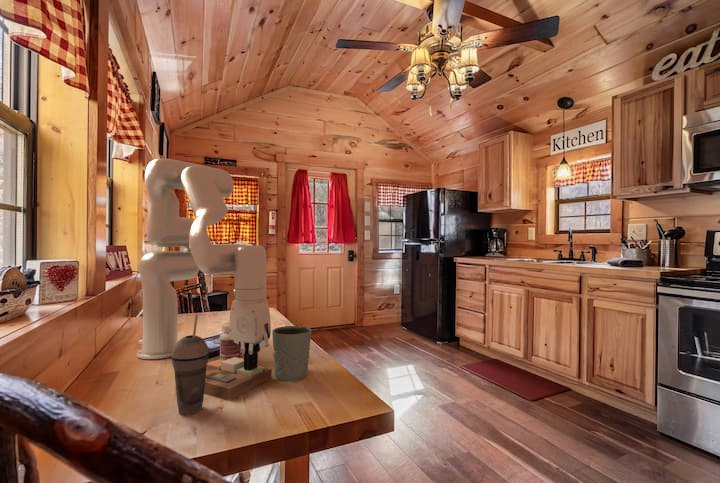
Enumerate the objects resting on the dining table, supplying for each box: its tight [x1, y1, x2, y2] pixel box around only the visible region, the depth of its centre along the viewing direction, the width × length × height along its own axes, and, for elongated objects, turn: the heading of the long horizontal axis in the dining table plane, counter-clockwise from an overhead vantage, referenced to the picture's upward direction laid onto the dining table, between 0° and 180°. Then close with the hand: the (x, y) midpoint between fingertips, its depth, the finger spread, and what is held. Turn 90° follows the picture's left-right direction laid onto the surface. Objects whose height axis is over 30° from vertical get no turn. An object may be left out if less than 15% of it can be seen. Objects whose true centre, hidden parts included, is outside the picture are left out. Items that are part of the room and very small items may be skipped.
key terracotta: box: [206, 358, 225, 370], centre depth 98 cm, size 4×4×2 cm
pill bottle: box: [219, 321, 243, 360], centre depth 107 cm, size 6×6×11 cm
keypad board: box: [204, 358, 273, 401], centre depth 93 cm, size 18×14×3 cm
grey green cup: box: [271, 325, 313, 382], centre depth 98 cm, size 10×10×12 cm
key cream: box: [221, 357, 244, 373], centre depth 96 cm, size 4×4×2 cm
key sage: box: [237, 365, 264, 377], centre depth 93 cm, size 4×4×2 cm
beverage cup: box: [170, 314, 210, 416], centre depth 78 cm, size 7×7×20 cm
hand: (250, 368), depth 93 cm, fingers closed
